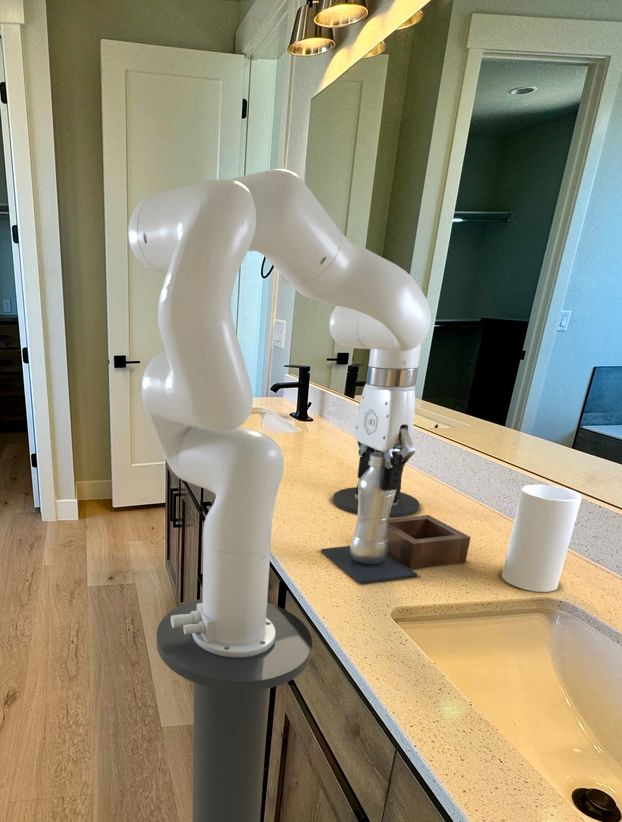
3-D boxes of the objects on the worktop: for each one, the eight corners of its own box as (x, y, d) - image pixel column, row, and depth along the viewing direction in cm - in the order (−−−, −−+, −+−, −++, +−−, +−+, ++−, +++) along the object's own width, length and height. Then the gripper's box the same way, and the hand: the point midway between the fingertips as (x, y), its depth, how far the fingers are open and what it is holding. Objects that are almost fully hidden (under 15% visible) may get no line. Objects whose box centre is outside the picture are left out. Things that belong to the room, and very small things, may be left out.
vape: (410, 523, 123) (429, 407, 114) (323, 508, 133) (333, 400, 124) (424, 498, 139) (442, 394, 129) (345, 486, 148) (356, 388, 139)
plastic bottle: (340, 558, 106) (352, 453, 99) (367, 550, 109) (380, 448, 102) (366, 571, 101) (381, 461, 94) (394, 563, 104) (410, 456, 96)
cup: (547, 597, 93) (571, 504, 87) (493, 579, 99) (513, 491, 93) (564, 581, 98) (589, 492, 92) (513, 565, 104) (532, 481, 98)
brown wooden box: (409, 569, 103) (413, 543, 101) (372, 543, 114) (375, 520, 112) (465, 561, 105) (470, 537, 104) (424, 537, 116) (428, 514, 114)
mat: (360, 584, 98) (361, 581, 98) (321, 551, 111) (321, 548, 110) (417, 576, 100) (417, 573, 100) (372, 545, 113) (372, 543, 113)
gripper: (343, 373, 100) (332, 471, 107) (403, 386, 84) (387, 501, 91) (381, 371, 102) (369, 468, 108) (447, 384, 86) (428, 497, 92)
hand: (377, 482), depth 100 cm, fingers closed on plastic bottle, 6 cm apart
